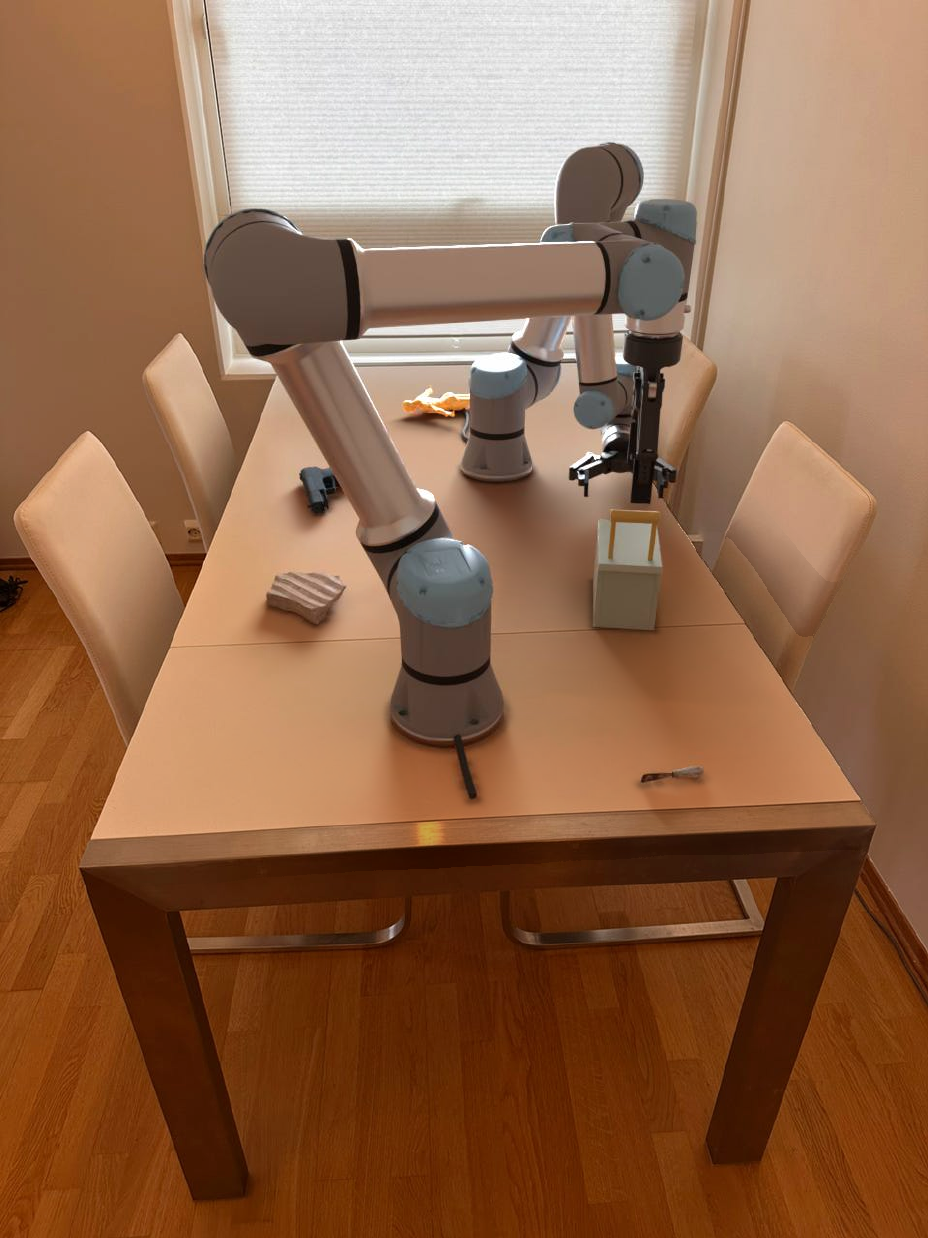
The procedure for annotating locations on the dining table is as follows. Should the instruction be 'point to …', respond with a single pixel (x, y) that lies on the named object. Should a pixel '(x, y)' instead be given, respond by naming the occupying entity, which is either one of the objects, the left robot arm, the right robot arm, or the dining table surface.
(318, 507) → the handgun
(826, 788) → the dining table surface
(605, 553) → the lid
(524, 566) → the dining table surface
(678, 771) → the putty knife
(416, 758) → the dining table surface
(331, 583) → the stone
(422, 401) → the human figure
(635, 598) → the chest
